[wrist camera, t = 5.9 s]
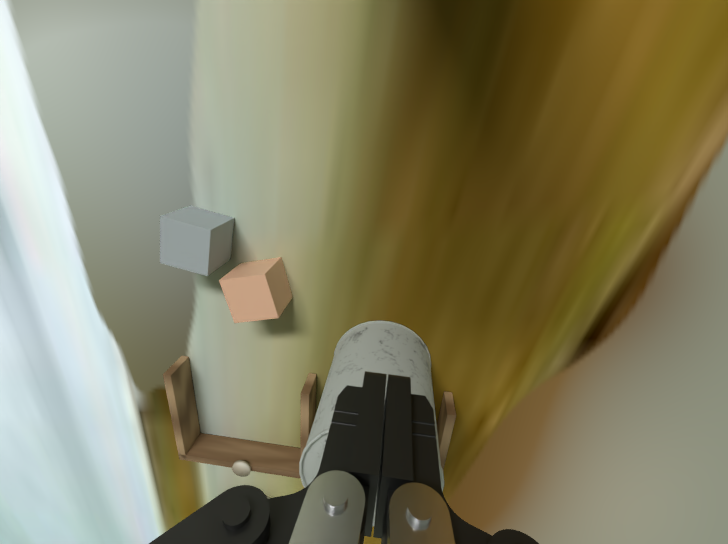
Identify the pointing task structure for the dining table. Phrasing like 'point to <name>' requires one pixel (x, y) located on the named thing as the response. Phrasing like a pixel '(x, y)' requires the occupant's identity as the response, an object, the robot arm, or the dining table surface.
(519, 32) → the dining table surface
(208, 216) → the block slate
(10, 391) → the dining table surface
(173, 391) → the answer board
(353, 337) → the speckled white canister
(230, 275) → the block terracotta
